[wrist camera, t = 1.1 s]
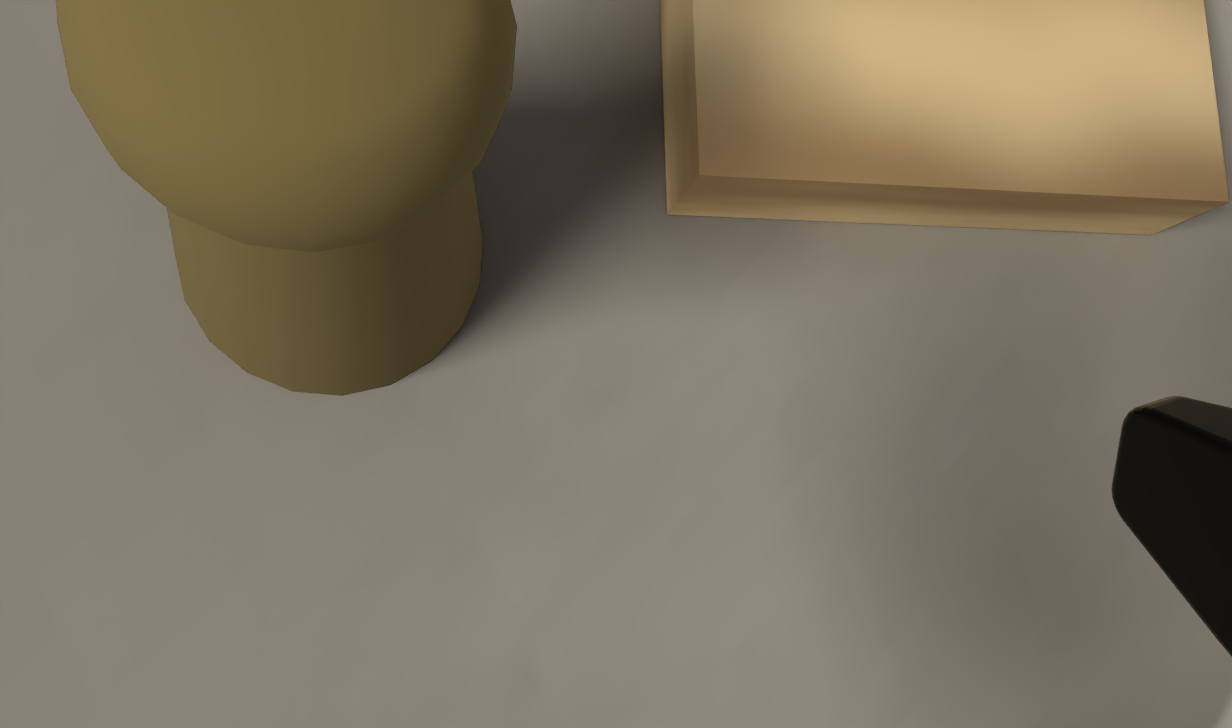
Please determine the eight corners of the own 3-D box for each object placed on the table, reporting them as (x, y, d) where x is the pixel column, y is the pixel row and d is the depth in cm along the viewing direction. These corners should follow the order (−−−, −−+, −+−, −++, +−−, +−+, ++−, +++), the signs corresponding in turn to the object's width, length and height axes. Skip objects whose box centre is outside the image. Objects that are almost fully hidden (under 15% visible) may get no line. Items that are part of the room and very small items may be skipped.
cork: (471, 105, 23) (546, -281, 12) (494, 386, 22) (596, 224, 12) (170, 107, 22) (-35, -321, 11) (180, 406, 21) (-33, 247, 10)
